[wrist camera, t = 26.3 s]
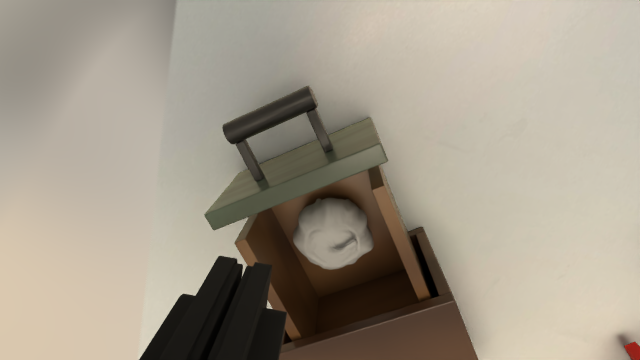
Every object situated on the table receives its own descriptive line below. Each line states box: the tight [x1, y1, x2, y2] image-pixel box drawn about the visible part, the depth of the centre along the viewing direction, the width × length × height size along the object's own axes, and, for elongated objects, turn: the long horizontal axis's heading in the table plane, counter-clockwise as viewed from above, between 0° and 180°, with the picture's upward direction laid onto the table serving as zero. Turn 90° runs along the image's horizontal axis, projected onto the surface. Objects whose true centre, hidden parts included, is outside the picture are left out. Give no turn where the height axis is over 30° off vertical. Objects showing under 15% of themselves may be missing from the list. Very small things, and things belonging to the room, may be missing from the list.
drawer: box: [205, 86, 433, 342], centre depth 26 cm, size 18×11×8 cm, turn 24°
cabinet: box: [279, 227, 478, 360], centre depth 30 cm, size 15×13×10 cm
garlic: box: [293, 198, 374, 270], centre depth 26 cm, size 6×5×5 cm
